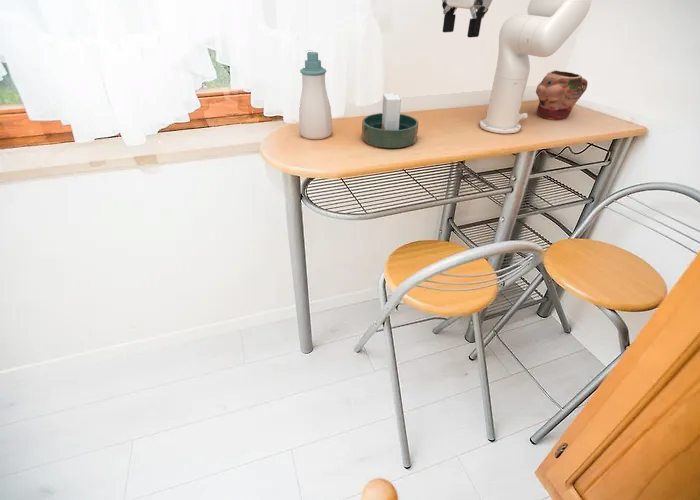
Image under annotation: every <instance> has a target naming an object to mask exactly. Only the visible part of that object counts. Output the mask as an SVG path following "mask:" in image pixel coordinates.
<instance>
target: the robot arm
mask: <svg viewBox="0 0 700 500" xmlns="http://www.w3.org/2000/svg"><path fill="white" fill-rule="evenodd" d="M441 2H442V3H441V7H442V10H443V11H442V14H443V15H444V17H443V26H442V33H453V32H455V31H454V29H455V23H456V14H455V12H456V11H457V9H465V10H469V11H470V15H471V18H469V22H468V29H467V38H478V37H479V36H480V31H481V25H482V19H484V18H485V15H486V14H487V13H488V11H489V8H490V6H491V4H492V2H493V0H441ZM591 5H592V0H530V1H529V3H528V6H527V14H525V13H519V14H514V15H511V16H509V17H508V18H507V19H506V20H504V22H503V23H502V25H501V27H500V30H499V35H498V55H497V61H496V69H495V72H494V78H493V81H492V87H491V91H490V97H489V100H488V101H489V102H488V106H487V107H488V108H487V111H486V112H487V113H486V117H485V118H484V119H481V120H480V121H479V127H480V128H481V129H483V130H484V131H487V132H490V133H495V134H502V135H503V134H507V135H509V134H515V133H518V132H520V131H521V128H522V126H521V124H520V123H519V122H520V121H521V120H526V119H527V118H528V117H529V114H528V113H527V112H522V113H521V112H520V111H521V107H522V104H523V99H524V94H525V91H526V87H527V83H528V80H529V79H528V78H529V75H530V69H531V62H530V57H529V56H533V57H537V58H547V57H550V56H552V55H554V54H555V53H556V52H557V51H558V50H559V49H560V48H561V47H562V46H563V44H565V42H566V41H567V40H568V39H569V38H570V37H571V35H572V34H573V33H574V32H575V31H576V30H577V29H578V27H579V26H580V25H581V24H582V22H583V21H584V20H585V18H586V17H587V15H588V12H589V11H590V8H591Z"/></svg>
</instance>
